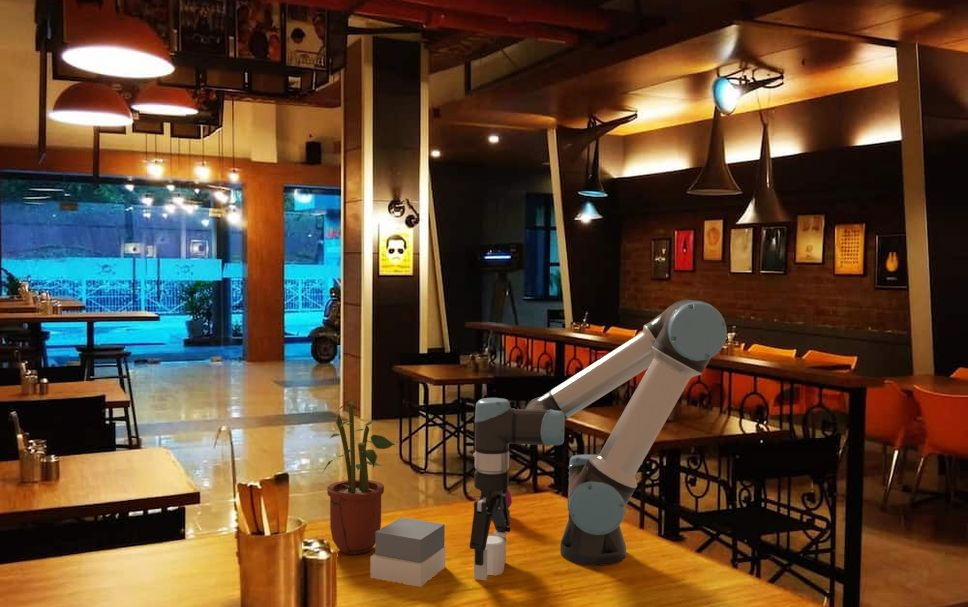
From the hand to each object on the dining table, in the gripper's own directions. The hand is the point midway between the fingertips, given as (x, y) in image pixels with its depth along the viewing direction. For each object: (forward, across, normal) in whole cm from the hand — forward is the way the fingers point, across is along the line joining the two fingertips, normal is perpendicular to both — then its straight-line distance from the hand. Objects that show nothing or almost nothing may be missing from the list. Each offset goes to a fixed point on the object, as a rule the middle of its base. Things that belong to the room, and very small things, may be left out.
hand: (490, 569), depth 175 cm
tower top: (-4, +8, -16) cm, 18 cm away
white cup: (0, 0, 0) cm, 0 cm away
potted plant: (+1, -1, -35) cm, 35 cm away
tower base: (+1, +8, -16) cm, 18 cm away
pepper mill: (0, -35, -12) cm, 37 cm away
